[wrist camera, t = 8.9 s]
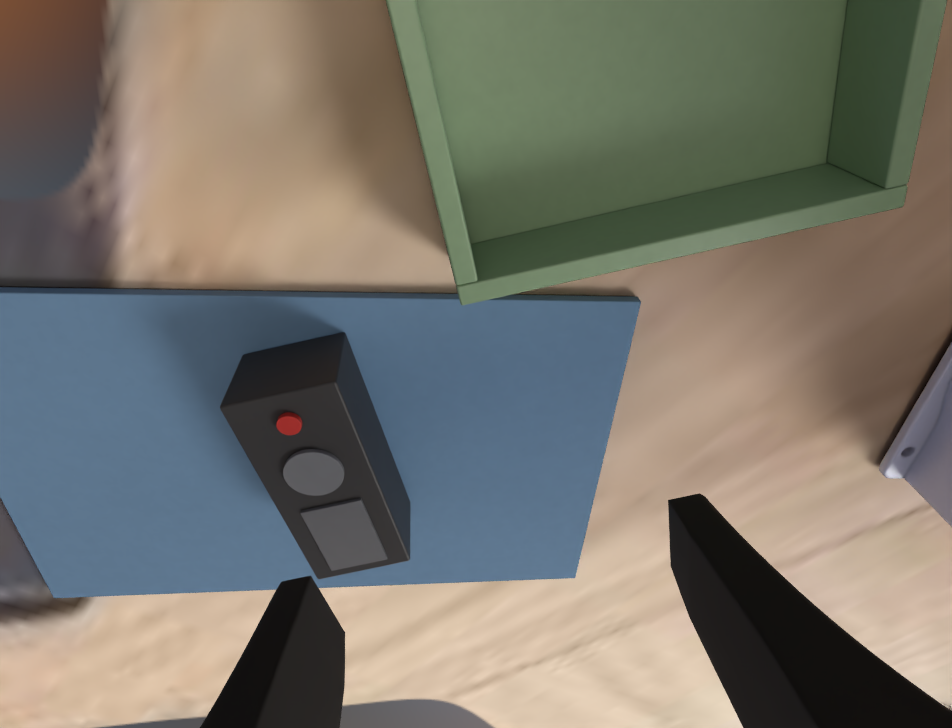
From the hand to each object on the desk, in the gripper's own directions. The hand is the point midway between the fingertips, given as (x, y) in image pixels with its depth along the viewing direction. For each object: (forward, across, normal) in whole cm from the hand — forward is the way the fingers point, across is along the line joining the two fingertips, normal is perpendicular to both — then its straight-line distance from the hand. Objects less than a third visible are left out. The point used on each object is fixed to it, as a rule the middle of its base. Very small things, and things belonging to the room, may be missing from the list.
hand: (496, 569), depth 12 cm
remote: (+9, +5, +3) cm, 11 cm away
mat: (+9, +7, +4) cm, 12 cm away
